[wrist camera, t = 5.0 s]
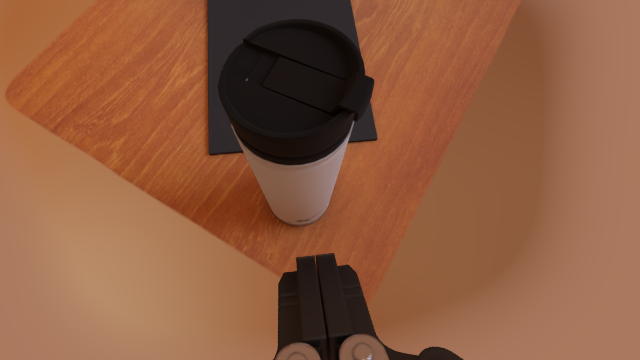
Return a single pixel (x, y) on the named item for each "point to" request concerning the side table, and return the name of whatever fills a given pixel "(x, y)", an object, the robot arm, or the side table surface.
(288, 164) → the travel mug
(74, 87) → the side table surface
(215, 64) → the mat
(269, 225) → the side table surface
